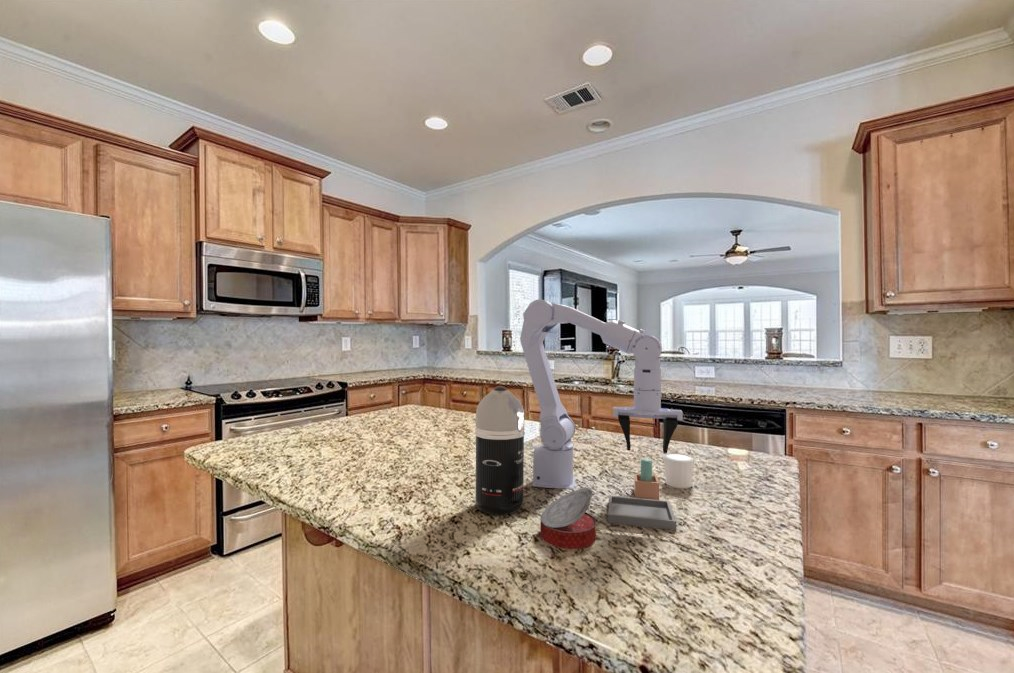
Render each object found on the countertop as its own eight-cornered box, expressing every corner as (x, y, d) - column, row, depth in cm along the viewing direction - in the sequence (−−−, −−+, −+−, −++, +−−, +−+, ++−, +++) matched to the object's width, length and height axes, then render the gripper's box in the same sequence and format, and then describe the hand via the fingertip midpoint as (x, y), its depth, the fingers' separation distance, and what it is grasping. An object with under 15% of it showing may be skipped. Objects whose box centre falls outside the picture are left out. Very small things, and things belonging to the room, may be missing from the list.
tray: (608, 525, 81) (608, 514, 81) (608, 504, 91) (608, 495, 91) (676, 532, 78) (676, 521, 78) (669, 510, 88) (669, 501, 88)
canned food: (585, 576, 72) (580, 536, 68) (532, 553, 78) (524, 515, 73) (608, 524, 80) (605, 485, 76) (559, 506, 86) (554, 469, 81)
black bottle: (530, 501, 92) (531, 384, 92) (515, 520, 83) (516, 390, 83) (485, 495, 96) (486, 382, 96) (466, 513, 86) (467, 387, 86)
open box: (634, 499, 94) (635, 481, 94) (633, 491, 99) (634, 473, 99) (659, 501, 93) (659, 483, 93) (656, 493, 97) (657, 475, 97)
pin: (640, 495, 95) (641, 461, 95) (640, 491, 97) (640, 458, 97) (652, 496, 94) (652, 462, 94) (651, 492, 97) (651, 459, 96)
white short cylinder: (697, 492, 98) (697, 461, 98) (665, 489, 100) (665, 459, 100) (690, 482, 105) (691, 453, 105) (661, 480, 107) (661, 451, 107)
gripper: (613, 390, 93) (613, 452, 93) (685, 392, 90) (684, 457, 90) (613, 386, 100) (613, 444, 100) (680, 388, 97) (679, 449, 97)
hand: (646, 450), depth 96 cm, fingers open, 7 cm apart
